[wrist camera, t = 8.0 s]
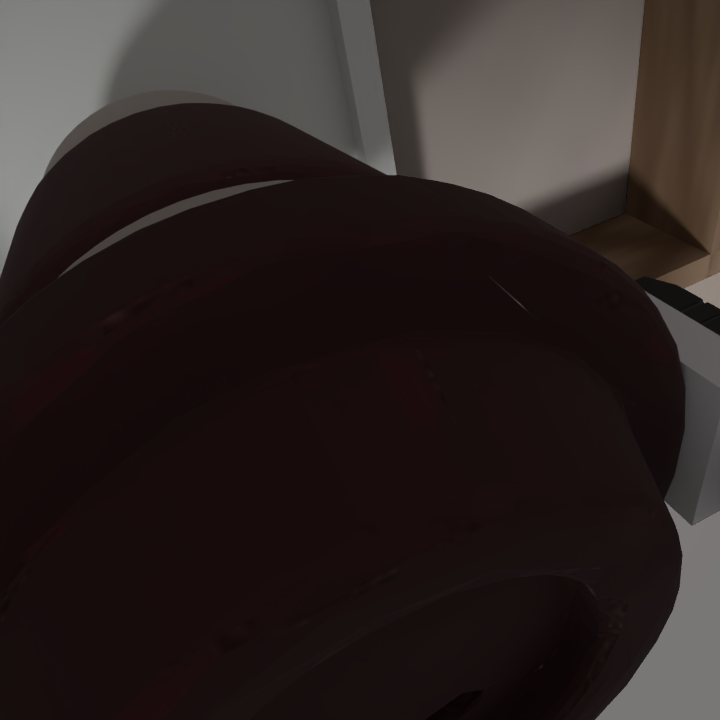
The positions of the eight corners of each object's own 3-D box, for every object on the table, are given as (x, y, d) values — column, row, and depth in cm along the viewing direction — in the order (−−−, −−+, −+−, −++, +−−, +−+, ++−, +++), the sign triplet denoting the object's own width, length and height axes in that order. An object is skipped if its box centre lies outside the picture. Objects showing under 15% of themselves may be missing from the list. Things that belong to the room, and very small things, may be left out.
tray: (-74, 527, 24) (-121, 766, 17) (-689, -57, 12) (-1681, -44, 5) (403, 327, 28) (520, 455, 21) (301, -253, 16) (492, -391, 9)
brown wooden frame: (258, 387, 26) (295, 463, 23) (29, -199, 15) (24, -245, 11) (642, 226, 30) (728, 268, 27) (707, -333, 19) (875, -401, 15)
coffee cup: (-28, -31, 13) (-518, 221, 2) (378, 80, 18) (976, 344, 6) (-20, 365, 18) (-138, 1158, 6) (302, 370, 22) (571, 827, 11)
